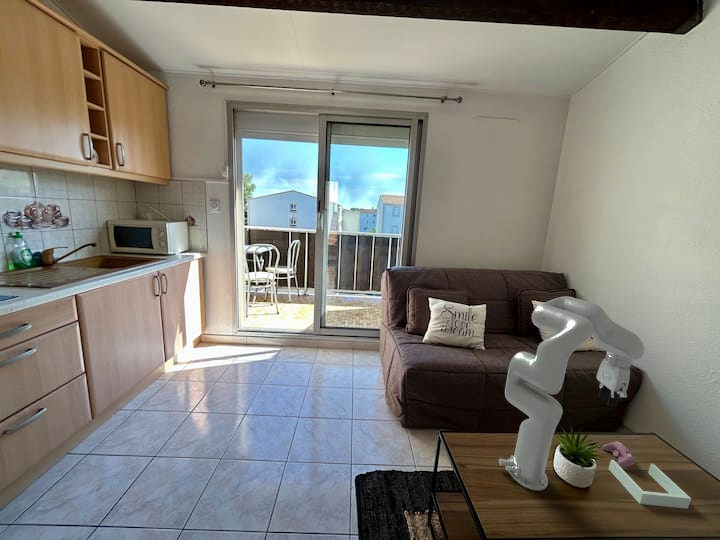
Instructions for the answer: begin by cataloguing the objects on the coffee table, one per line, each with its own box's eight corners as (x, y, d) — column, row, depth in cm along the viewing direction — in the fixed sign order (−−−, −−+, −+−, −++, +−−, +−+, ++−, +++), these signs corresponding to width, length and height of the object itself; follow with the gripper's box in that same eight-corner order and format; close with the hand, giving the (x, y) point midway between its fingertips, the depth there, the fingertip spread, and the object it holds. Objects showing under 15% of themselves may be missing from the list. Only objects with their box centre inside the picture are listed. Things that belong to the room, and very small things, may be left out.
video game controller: (626, 474, 107) (641, 462, 106) (615, 467, 108) (629, 454, 106) (610, 453, 117) (622, 441, 115) (599, 446, 117) (612, 434, 115)
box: (639, 503, 95) (642, 493, 94) (608, 468, 107) (611, 459, 106) (687, 508, 94) (691, 498, 93) (650, 473, 107) (653, 463, 106)
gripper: (592, 350, 124) (583, 388, 127) (625, 371, 107) (613, 415, 111) (610, 351, 123) (600, 390, 127) (646, 373, 107) (634, 416, 111)
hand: (606, 401), depth 119 cm, fingers open, 4 cm apart
